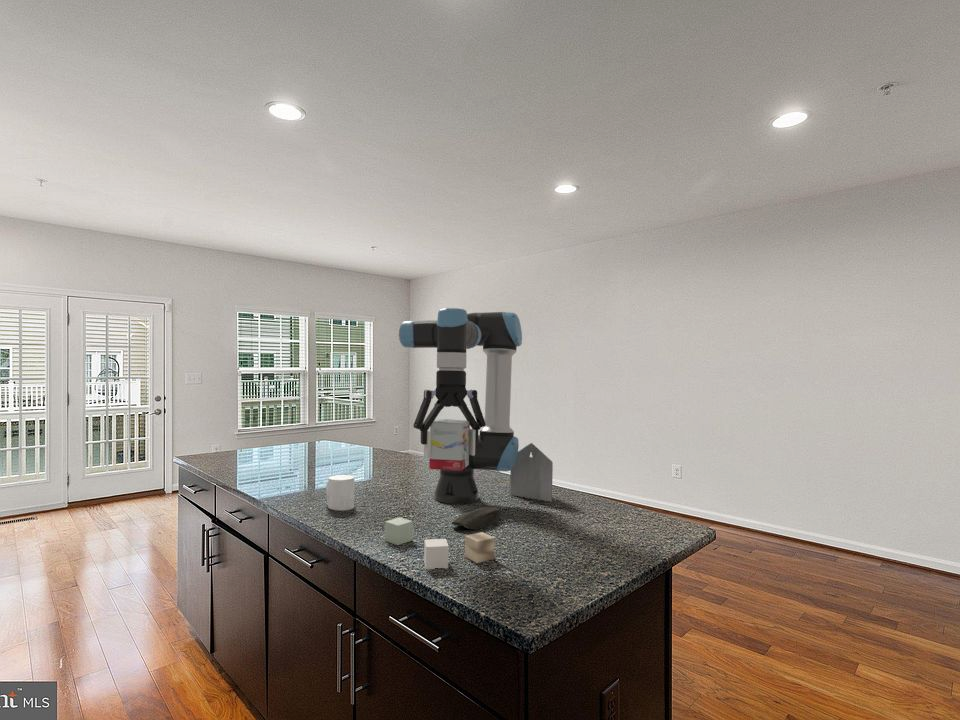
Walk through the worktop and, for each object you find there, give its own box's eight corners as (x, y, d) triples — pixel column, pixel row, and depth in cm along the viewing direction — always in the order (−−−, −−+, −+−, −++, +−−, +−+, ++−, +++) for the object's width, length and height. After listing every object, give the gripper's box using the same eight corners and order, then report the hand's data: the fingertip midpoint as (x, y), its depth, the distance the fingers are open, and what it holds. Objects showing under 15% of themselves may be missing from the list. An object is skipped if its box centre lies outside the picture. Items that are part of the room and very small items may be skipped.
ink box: (462, 471, 123) (462, 422, 123) (428, 469, 124) (429, 421, 125) (469, 464, 131) (470, 419, 131) (438, 463, 133) (438, 417, 133)
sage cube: (399, 536, 134) (399, 517, 134) (412, 540, 131) (412, 521, 131) (384, 541, 130) (385, 521, 131) (397, 545, 127) (398, 525, 127)
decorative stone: (465, 534, 137) (465, 519, 138) (448, 529, 142) (449, 514, 142) (505, 521, 150) (505, 507, 150) (489, 517, 154) (489, 503, 154)
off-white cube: (445, 560, 118) (445, 538, 118) (448, 568, 113) (448, 546, 113) (423, 561, 117) (424, 539, 117) (425, 569, 112) (426, 547, 112)
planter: (560, 497, 179) (561, 442, 180) (551, 502, 173) (552, 445, 173) (520, 491, 188) (520, 438, 188) (509, 495, 181) (510, 441, 182)
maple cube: (481, 552, 123) (482, 532, 124) (494, 559, 119) (494, 537, 119) (464, 556, 120) (465, 535, 121) (476, 563, 116) (477, 541, 117)
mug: (360, 477, 162) (339, 481, 156) (360, 507, 162) (338, 512, 155) (339, 472, 170) (317, 475, 163) (338, 500, 169) (317, 505, 163)
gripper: (486, 370, 137) (485, 451, 136) (401, 368, 126) (399, 456, 126) (499, 370, 130) (498, 455, 130) (411, 369, 120) (409, 461, 119)
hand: (449, 456), depth 128 cm, fingers closed on ink box, 11 cm apart
